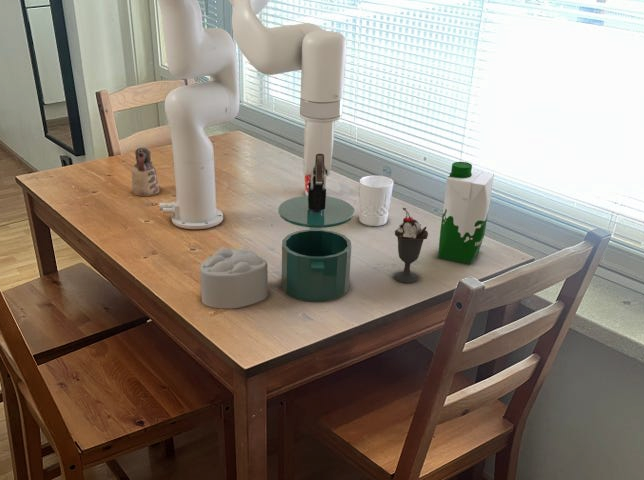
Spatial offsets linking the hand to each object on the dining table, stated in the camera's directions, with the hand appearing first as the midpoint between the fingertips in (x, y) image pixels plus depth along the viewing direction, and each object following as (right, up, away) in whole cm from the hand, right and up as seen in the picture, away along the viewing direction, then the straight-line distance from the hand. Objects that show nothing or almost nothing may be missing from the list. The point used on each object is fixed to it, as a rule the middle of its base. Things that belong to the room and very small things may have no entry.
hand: (316, 205), depth 138 cm
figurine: (-41, +15, +55) cm, 71 cm away
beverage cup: (+4, +14, +53) cm, 55 cm away
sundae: (+20, -13, +12) cm, 26 cm away
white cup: (+17, +4, +37) cm, 41 cm away
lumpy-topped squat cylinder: (-16, -17, +6) cm, 24 cm away
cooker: (0, -15, +9) cm, 17 cm away
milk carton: (+33, -7, +20) cm, 40 cm away
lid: (0, -1, +1) cm, 1 cm away
